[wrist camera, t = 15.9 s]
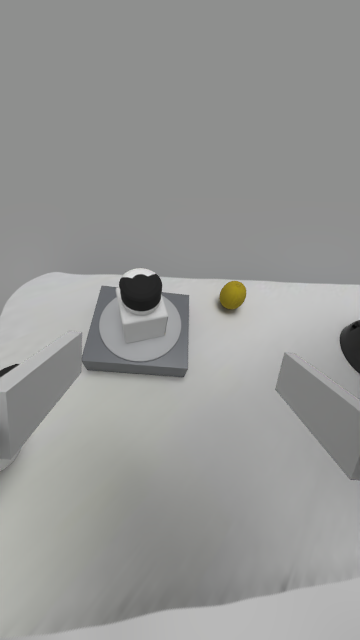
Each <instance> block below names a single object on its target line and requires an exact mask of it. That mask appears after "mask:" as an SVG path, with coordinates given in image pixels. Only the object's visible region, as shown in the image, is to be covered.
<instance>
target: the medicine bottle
mask: <svg viewBox="0 0 360 640" xmlns="http://www.w3.org/2000/svg"><path fill="white" fill-rule="evenodd" d="M161 292H162V282H161V279H160V278H159V276H158V275H157V274H155V273H154V272H152V271H150V270H148V269H143V268H138V269H133V270H130V271H128V272H127V273H125V274H124V275H123V276H122V278H121V279H120V282H119V287H117V288H116V295H117V300H118V306H119V311H120V316H121V322H122V327H123V332H124V337H125V342H126V343H131V342H136V341H141V340H146V339H151V338H156V337H160V336H164V335H165V332H166V326H167V320H168V313H167V310H166V307H165V304H164V300H163V297H162V294H161Z"/></svg>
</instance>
